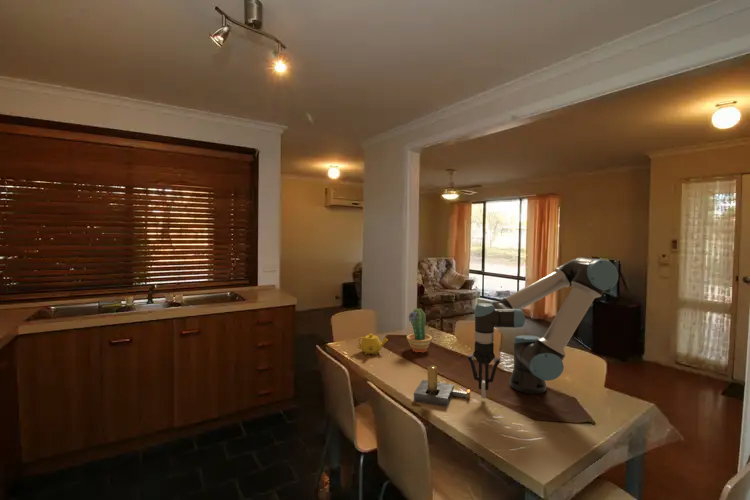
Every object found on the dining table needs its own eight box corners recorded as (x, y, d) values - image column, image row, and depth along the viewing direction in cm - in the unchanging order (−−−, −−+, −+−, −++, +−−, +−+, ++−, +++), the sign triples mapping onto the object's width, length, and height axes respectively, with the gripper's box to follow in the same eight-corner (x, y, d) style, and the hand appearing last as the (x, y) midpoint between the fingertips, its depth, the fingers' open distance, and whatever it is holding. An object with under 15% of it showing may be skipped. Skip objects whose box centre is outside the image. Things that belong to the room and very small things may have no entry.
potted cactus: (404, 346, 215) (404, 306, 214) (428, 345, 217) (428, 305, 215) (409, 355, 200) (409, 312, 198) (435, 353, 201) (435, 311, 200)
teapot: (371, 359, 194) (370, 339, 194) (355, 353, 204) (354, 334, 203) (388, 352, 204) (388, 334, 204) (372, 347, 214) (372, 329, 213)
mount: (453, 392, 153) (453, 384, 152) (447, 407, 140) (447, 398, 140) (422, 387, 158) (422, 379, 158) (413, 401, 145) (413, 392, 145)
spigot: (438, 398, 147) (438, 366, 146) (436, 402, 143) (436, 369, 143) (429, 396, 149) (428, 364, 148) (426, 401, 145) (426, 368, 144)
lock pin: (470, 396, 148) (470, 389, 148) (469, 399, 146) (469, 392, 146) (439, 391, 154) (439, 384, 153) (437, 394, 151) (437, 387, 151)
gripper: (501, 340, 145) (500, 395, 146) (469, 336, 150) (468, 390, 151) (500, 345, 138) (499, 403, 139) (466, 342, 143) (466, 398, 144)
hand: (483, 396), depth 145 cm, fingers closed
